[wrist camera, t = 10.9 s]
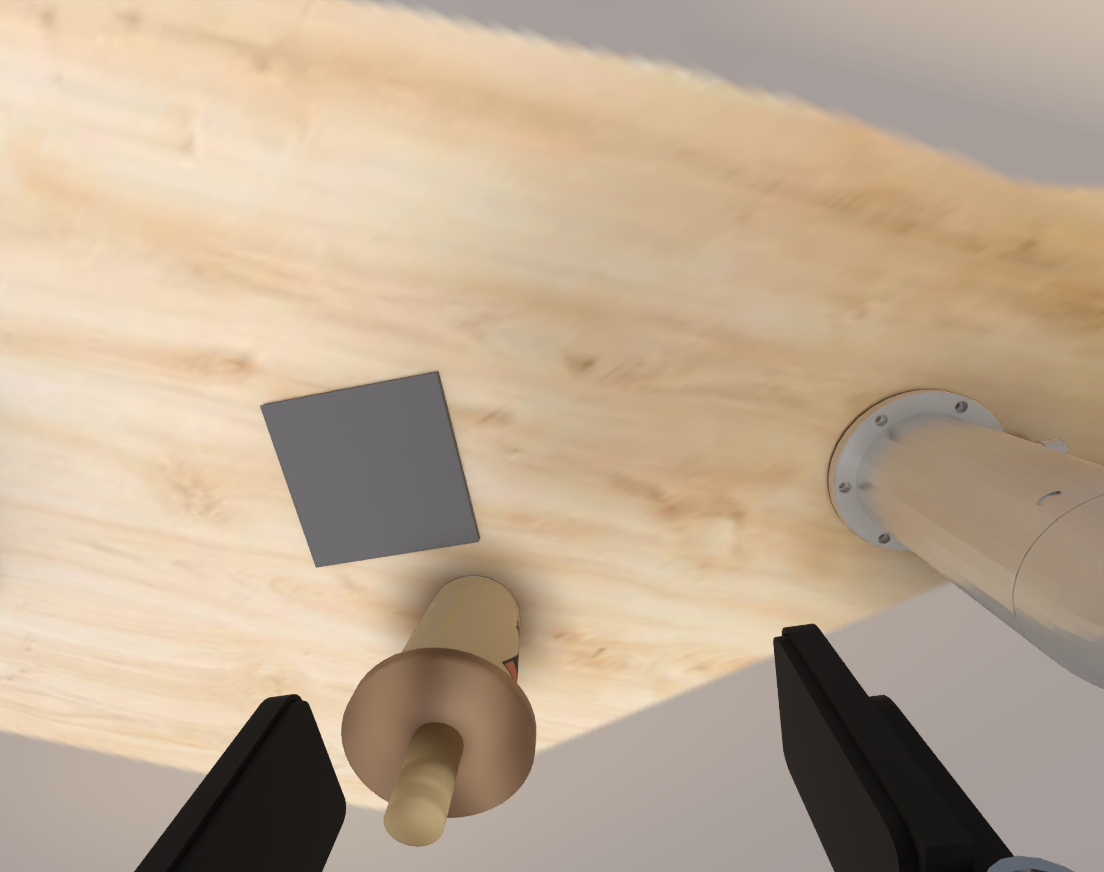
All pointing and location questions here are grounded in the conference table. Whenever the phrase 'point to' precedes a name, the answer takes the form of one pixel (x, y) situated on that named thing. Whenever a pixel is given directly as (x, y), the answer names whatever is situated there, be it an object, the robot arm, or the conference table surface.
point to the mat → (373, 470)
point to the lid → (438, 738)
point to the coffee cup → (473, 622)
